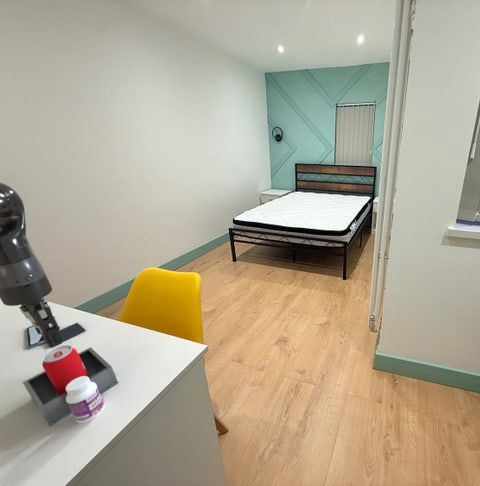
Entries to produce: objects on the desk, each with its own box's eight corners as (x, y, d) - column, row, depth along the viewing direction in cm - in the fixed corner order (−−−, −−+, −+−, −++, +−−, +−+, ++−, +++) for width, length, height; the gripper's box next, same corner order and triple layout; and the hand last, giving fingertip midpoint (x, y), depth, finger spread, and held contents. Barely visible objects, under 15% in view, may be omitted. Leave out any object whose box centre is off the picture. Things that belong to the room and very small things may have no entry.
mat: (50, 347, 82) (49, 345, 82) (43, 339, 86) (42, 337, 85) (85, 331, 89) (85, 329, 89) (78, 324, 93) (77, 322, 93)
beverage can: (87, 374, 72) (70, 340, 68) (94, 385, 69) (78, 350, 64) (56, 391, 67) (36, 355, 63) (62, 404, 64) (42, 367, 59)
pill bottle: (100, 419, 61) (86, 389, 57) (72, 427, 59) (55, 397, 56) (109, 399, 66) (96, 370, 62) (83, 406, 64) (68, 377, 60)
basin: (49, 426, 59) (39, 409, 57) (32, 398, 66) (22, 382, 64) (118, 382, 70) (111, 366, 68) (97, 361, 77) (90, 347, 75)
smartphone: (54, 317, 96) (59, 335, 87) (55, 320, 96) (60, 337, 87) (25, 328, 91) (27, 347, 81) (26, 330, 91) (28, 350, 82)
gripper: (-14, 277, 56) (19, 337, 62) (1, 295, 49) (37, 361, 55) (34, 264, 62) (60, 319, 68) (54, 278, 55) (82, 339, 61)
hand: (50, 338), depth 62 cm, fingers open, 8 cm apart
